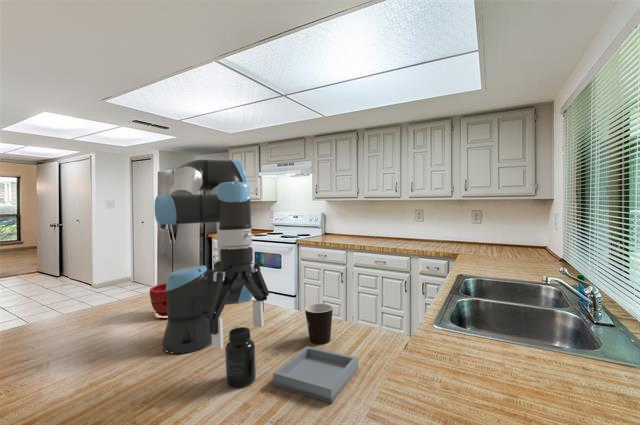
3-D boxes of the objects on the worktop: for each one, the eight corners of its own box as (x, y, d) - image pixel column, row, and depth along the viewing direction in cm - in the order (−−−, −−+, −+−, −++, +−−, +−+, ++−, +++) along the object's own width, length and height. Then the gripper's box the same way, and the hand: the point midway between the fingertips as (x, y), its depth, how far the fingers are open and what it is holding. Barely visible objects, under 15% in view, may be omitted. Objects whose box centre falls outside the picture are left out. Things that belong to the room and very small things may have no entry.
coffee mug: (331, 347, 90) (330, 313, 89) (302, 345, 91) (301, 312, 91) (337, 331, 101) (336, 301, 101) (311, 330, 103) (310, 300, 102)
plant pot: (156, 312, 127) (154, 283, 127) (189, 308, 130) (188, 280, 130) (146, 323, 114) (144, 291, 114) (184, 319, 118) (182, 288, 117)
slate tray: (273, 385, 71) (273, 373, 71) (307, 357, 84) (306, 346, 84) (331, 403, 64) (331, 389, 64) (358, 369, 77) (358, 357, 77)
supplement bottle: (237, 371, 78) (235, 324, 78) (261, 375, 76) (259, 326, 75) (220, 386, 71) (218, 335, 71) (245, 391, 69) (243, 338, 69)
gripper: (204, 254, 60) (209, 362, 60) (280, 241, 82) (283, 320, 82) (179, 253, 64) (183, 355, 64) (258, 241, 86) (261, 317, 86)
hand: (239, 336), depth 73 cm, fingers open, 13 cm apart
